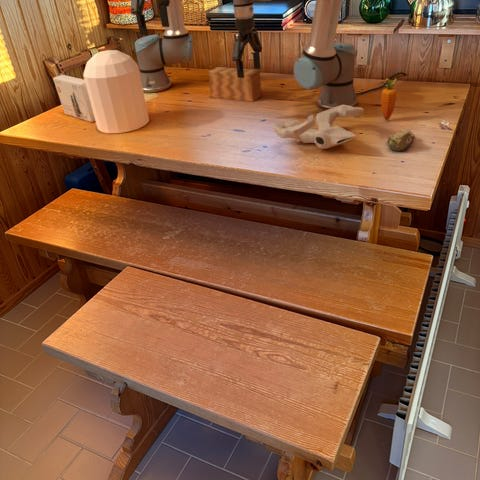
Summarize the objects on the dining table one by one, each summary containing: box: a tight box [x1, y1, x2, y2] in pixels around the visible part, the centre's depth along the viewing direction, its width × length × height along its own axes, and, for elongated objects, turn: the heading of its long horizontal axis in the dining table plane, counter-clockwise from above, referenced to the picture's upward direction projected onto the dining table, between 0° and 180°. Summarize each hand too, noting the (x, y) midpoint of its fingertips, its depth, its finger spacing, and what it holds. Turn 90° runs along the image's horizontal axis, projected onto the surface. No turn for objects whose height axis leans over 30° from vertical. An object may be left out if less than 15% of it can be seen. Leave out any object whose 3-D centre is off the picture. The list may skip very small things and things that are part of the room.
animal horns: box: [273, 105, 365, 150], centre depth 153 cm, size 28×26×12 cm
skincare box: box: [52, 74, 96, 123], centre depth 193 cm, size 21×6×16 cm, turn 49°
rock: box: [387, 129, 416, 152], centre depth 146 cm, size 11×6×10 cm
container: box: [82, 49, 150, 134], centre depth 178 cm, size 21×21×28 cm
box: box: [207, 66, 262, 103], centre depth 200 cm, size 22×7×11 cm, turn 59°
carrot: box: [380, 78, 398, 122], centre depth 161 cm, size 5×5×15 cm
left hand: (155, 30), depth 164 cm, fingers open, 13 cm apart
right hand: (249, 73), depth 193 cm, fingers open, 13 cm apart
